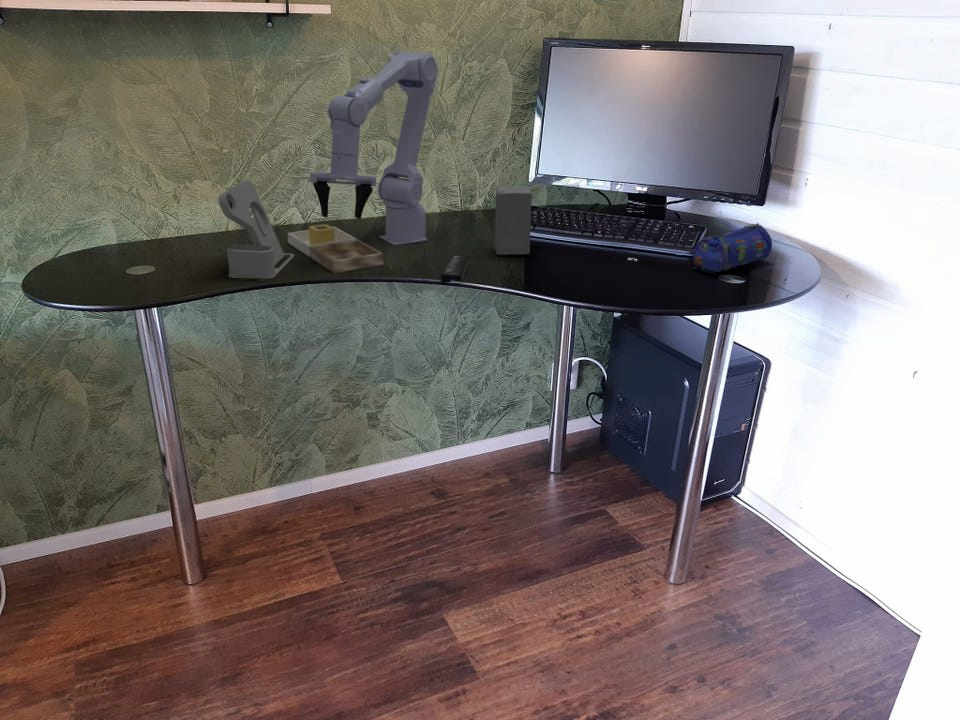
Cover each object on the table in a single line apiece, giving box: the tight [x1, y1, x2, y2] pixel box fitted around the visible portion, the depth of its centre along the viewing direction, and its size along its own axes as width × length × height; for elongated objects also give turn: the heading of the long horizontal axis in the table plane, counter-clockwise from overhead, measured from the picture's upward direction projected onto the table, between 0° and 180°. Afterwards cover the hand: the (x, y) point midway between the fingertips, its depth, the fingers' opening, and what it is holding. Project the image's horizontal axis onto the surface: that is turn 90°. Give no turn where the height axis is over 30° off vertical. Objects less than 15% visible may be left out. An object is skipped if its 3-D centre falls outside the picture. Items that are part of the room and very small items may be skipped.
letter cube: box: [308, 224, 335, 245], centre depth 184 cm, size 4×4×5 cm
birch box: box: [310, 239, 385, 276], centre depth 175 cm, size 12×12×3 cm
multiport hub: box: [440, 254, 471, 284], centre depth 172 cm, size 4×14×2 cm, turn 173°
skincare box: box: [494, 185, 533, 255], centre depth 183 cm, size 8×7×16 cm
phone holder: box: [217, 179, 295, 279], centre depth 167 cm, size 17×10×18 cm, turn 176°
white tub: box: [287, 225, 358, 258], centre depth 184 cm, size 12×12×3 cm
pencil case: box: [693, 222, 773, 273], centre depth 181 cm, size 22×9×10 cm, turn 130°
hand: (341, 217), depth 171 cm, fingers open, 7 cm apart
